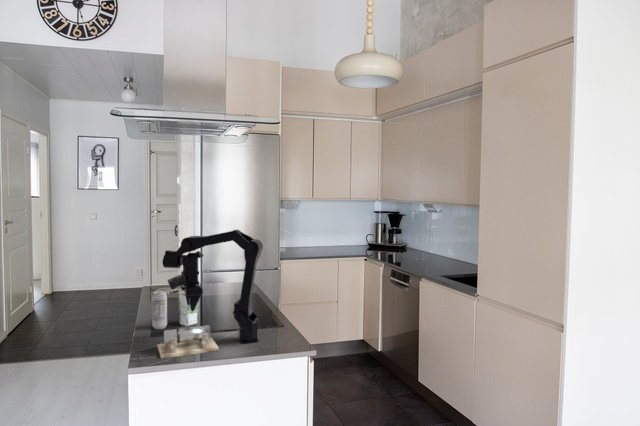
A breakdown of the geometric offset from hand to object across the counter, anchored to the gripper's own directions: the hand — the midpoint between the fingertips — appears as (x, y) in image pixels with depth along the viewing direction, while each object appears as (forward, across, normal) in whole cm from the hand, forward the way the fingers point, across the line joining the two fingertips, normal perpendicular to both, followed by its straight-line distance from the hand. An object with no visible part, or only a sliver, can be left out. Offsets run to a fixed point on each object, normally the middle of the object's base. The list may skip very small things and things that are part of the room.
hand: (190, 307), depth 178 cm
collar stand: (+12, +12, -3) cm, 17 cm away
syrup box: (+12, -18, +2) cm, 22 cm away
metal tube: (+9, +12, -3) cm, 16 cm away
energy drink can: (+12, -18, -10) cm, 24 cm away
